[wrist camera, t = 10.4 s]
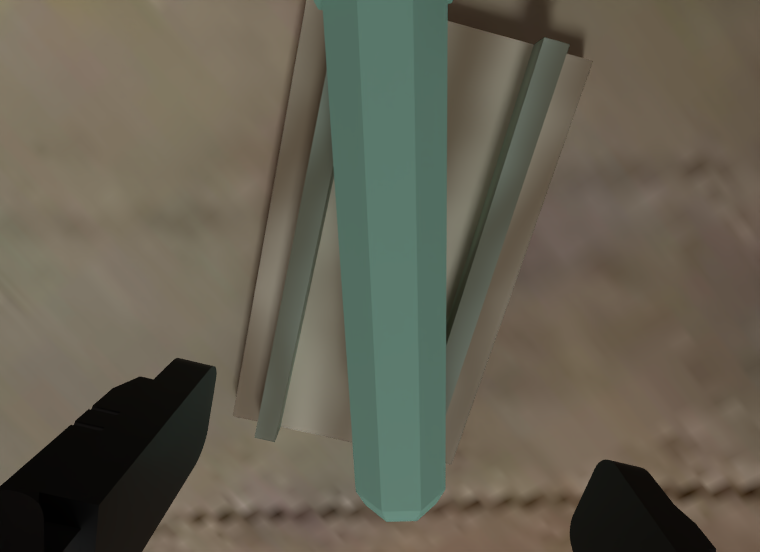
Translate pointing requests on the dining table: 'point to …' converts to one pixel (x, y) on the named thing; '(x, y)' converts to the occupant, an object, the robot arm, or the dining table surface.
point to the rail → (464, 226)
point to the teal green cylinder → (392, 240)
